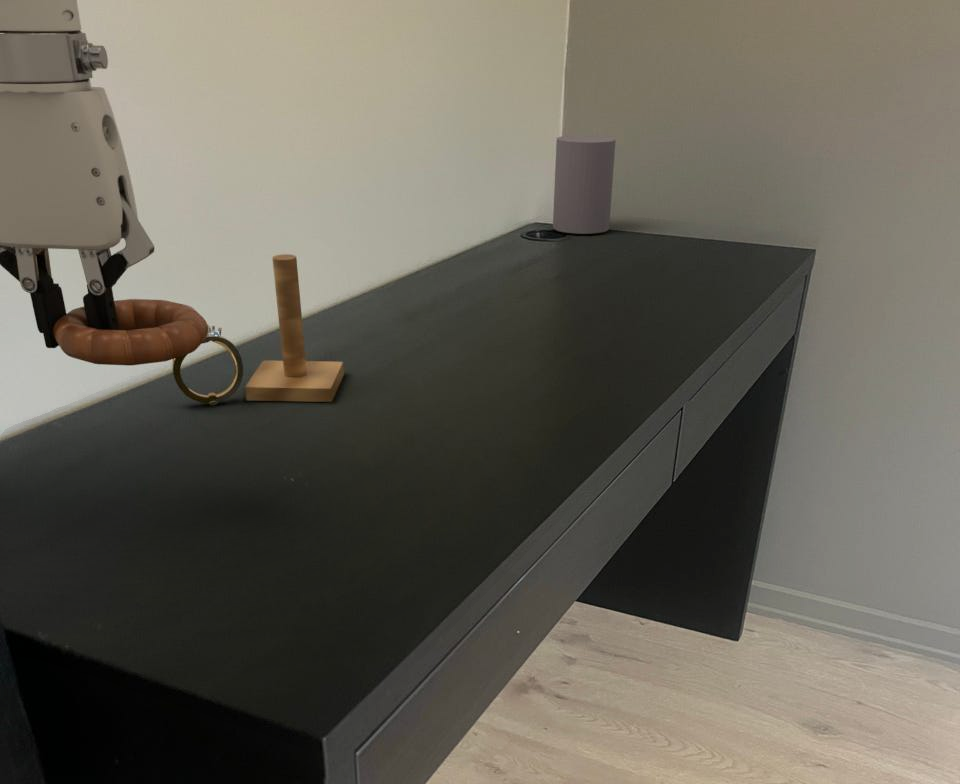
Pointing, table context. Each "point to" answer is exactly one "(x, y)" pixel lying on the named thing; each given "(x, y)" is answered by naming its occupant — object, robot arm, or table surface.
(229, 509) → the table surface
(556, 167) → the container
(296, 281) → the post
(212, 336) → the ring
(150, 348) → the ring
